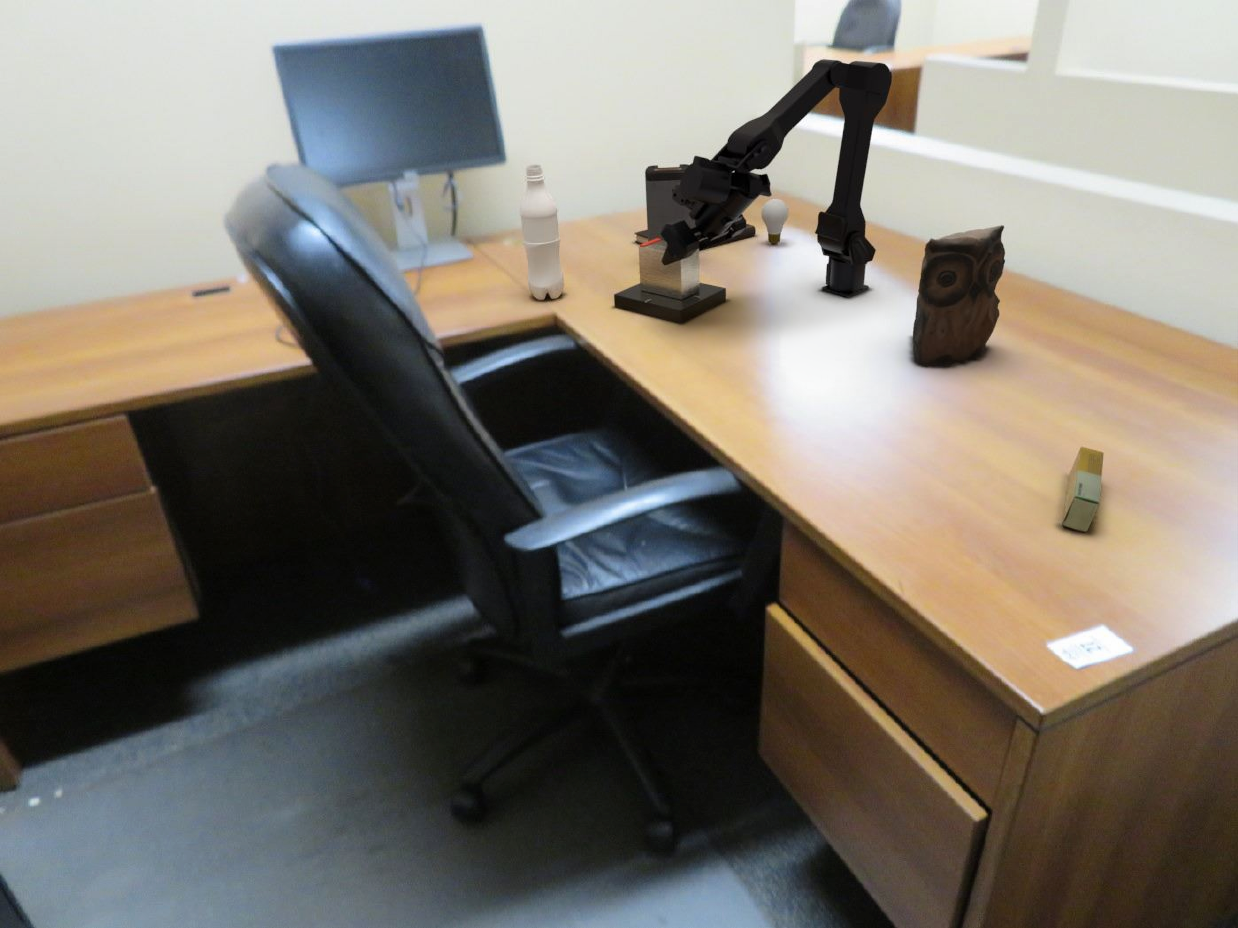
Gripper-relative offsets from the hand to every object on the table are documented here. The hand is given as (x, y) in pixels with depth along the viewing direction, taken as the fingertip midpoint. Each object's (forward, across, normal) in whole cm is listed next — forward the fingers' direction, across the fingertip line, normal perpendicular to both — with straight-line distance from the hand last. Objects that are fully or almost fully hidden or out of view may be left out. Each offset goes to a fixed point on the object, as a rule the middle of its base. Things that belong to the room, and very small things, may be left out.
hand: (679, 256), depth 156 cm
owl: (-27, -6, +41) cm, 49 cm away
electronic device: (+19, -20, -6) cm, 28 cm away
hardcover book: (+24, -37, -10) cm, 45 cm away
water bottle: (+25, +9, -12) cm, 29 cm away
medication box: (-49, +27, +62) cm, 83 cm away
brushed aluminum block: (+7, 0, +3) cm, 7 cm away
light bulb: (+11, -42, +3) cm, 44 cm away
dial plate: (+8, 0, +5) cm, 10 cm away
